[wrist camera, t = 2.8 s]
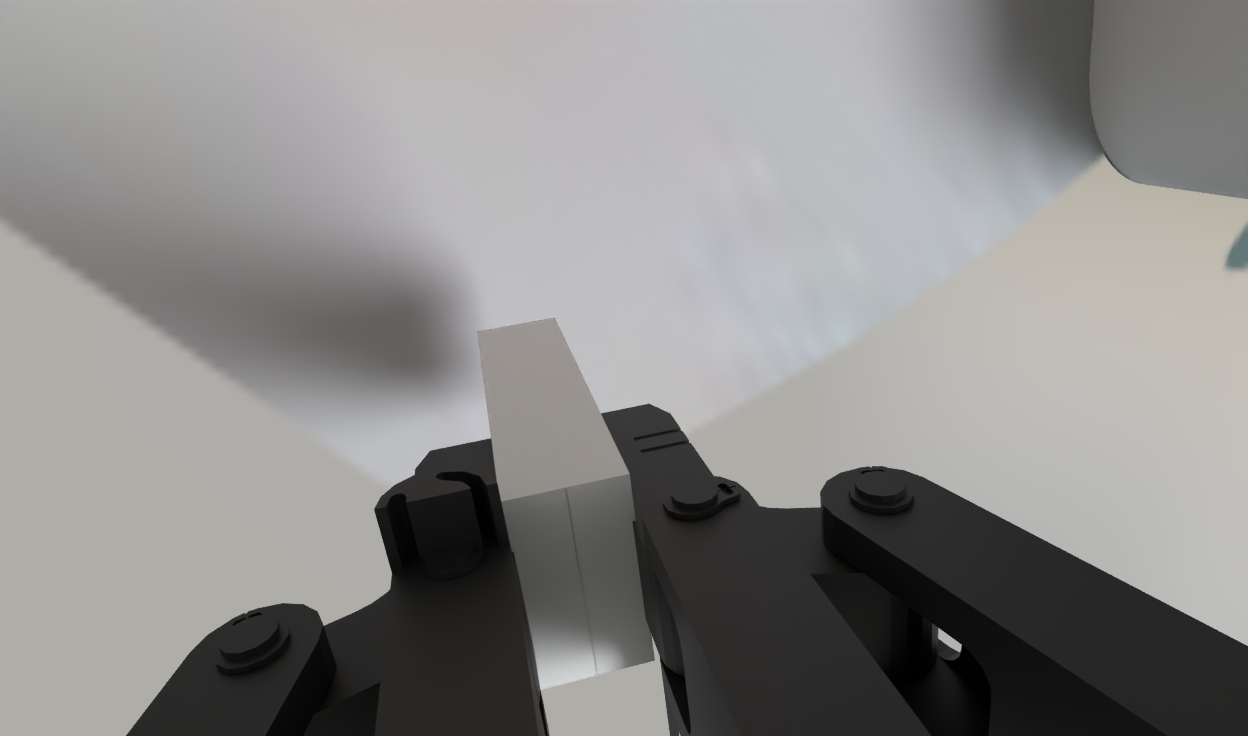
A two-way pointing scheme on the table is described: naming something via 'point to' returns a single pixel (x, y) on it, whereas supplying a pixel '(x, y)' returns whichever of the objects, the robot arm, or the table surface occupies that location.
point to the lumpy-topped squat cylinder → (1173, 92)
